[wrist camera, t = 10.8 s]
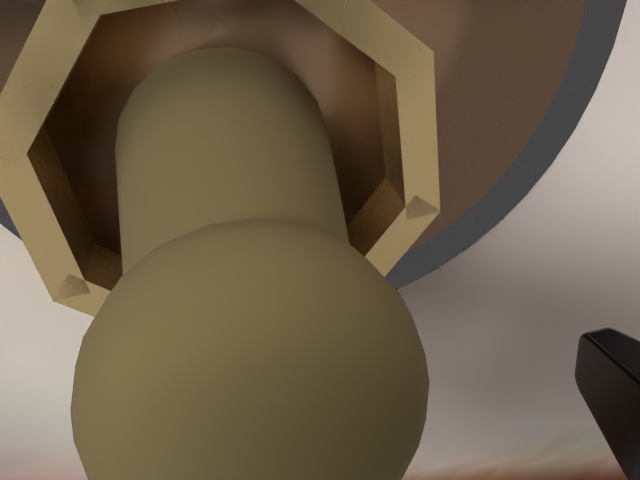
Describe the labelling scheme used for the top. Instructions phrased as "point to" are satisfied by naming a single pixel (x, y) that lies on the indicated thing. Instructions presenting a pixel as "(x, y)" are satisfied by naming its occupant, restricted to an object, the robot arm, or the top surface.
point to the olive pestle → (241, 296)
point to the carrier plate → (334, 102)
